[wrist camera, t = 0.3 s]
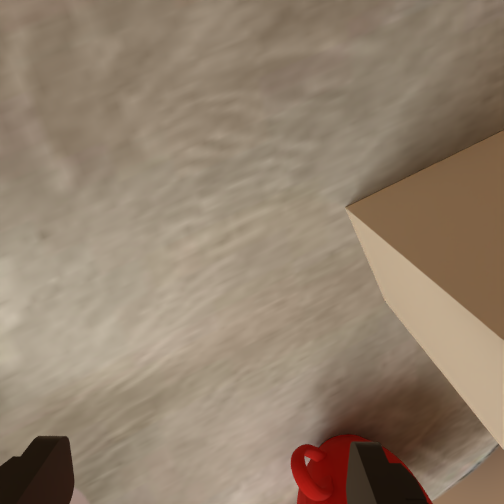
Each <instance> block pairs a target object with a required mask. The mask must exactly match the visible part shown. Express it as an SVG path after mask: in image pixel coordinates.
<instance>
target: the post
mask: <svg viewBox="0 0 504 504" xmlns="http://www.w3.org/2000/svg"><path fill="white" fill-rule="evenodd" d="M345 208H346V210H347V213H348V215H349V217H350V220H351V222H352V225H353V227H354V229H355V232H356V234H357V236H358V239H359V241H360V243H361V246H362V248H363V250H364V253H365V255H366V257H367V260H368V262H369V265H370V267H371V269H372V272H373V274H374V276H375V279H376V281H377V283H378V286H379V288H380V290H381V293H382V295H383V297H384V300H385V302H386V303H387V304H388V306H389V307H390V308H391V309H392V311H393V312H394V313H395V314H396V316H397V317H398V318H399V319H400V321H401V322H402V323H403V324H404V326H405V327H406V328H407V329H408V331H409V332H410V333H411V334H412V336H413V337H414V338H415V339H416V341H417V342H418V343H419V344H420V346H421V347H422V348H423V349H424V351H425V352H426V353H427V354H428V356H429V357H430V358H431V359H432V361H433V362H434V363H435V364H436V366H437V367H438V368H439V369H440V371H441V372H442V373H443V374H444V376H445V377H446V378H447V379H448V381H449V382H450V383H451V384H452V386H453V387H454V388H455V390H456V391H457V392H458V393H459V395H460V396H461V397H462V398H463V400H464V401H465V402H466V403H467V405H468V406H469V407H470V408H471V410H472V411H473V412H474V413H475V415H476V416H477V417H478V418H479V420H480V421H481V422H482V423H483V425H484V426H485V427H486V428H487V430H488V431H489V432H490V433H491V435H492V436H493V437H494V438H495V440H496V441H497V442H498V443H499V445H500V446H501V447H502V448H503V450H504V130H503V131H501V132H499V133H497V134H495V135H493V136H491V137H489V138H487V139H485V140H483V141H481V142H478V143H476V144H474V145H472V146H470V147H468V148H466V149H464V150H462V151H460V152H458V153H456V154H454V155H452V156H450V157H448V158H446V159H444V160H442V161H440V162H437V163H435V164H433V165H431V166H429V167H427V168H425V169H423V170H421V171H419V172H417V173H415V174H413V175H411V176H409V177H407V178H405V179H403V180H401V181H399V182H396V183H394V184H392V185H390V186H388V187H386V188H384V189H382V190H380V191H378V192H376V193H374V194H372V195H370V196H368V197H366V198H364V199H362V200H360V201H358V202H356V203H353V204H351V205H349V206H347V207H345Z"/></svg>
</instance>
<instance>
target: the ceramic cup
mask: <svg viewBox="0 0 504 504" xmlns="http://www.w3.org/2000/svg"><path fill="white" fill-rule="evenodd" d="M353 441H357V442H372V441H370V440H367V439H365V438H363V437H361V436H357V435H351V434H346V435H339V436H336V437H333V438H331V439H329V440H327V441H325V442H324V443H323V444H322V445H321V446H320V447H319V448H317V447H315V446H313V445H309V444H305V445H302V446H300V447H298V448H297V449H296V450H295V451H294V452H293V454H292V457H291V469H292V473H293V476H294V479H295V481H296V483H297V485H298V487H299V491H298V498H297V504H347V496H346V480H347V471H348V461H349V452H350V445H351V442H353ZM382 448H383V450H384V452H385V455H386V457H387V459H388V461H389V463H401V464H402V465H403V466H404V467H405V468H406V469H407V470H408V471H409V472H410V473H411V474H412V472H411V471H410V470H409V469H408V467H407V466H406V465H405V464H404V463H403V462H402V461H401V460H400V459H399V458H397V457H396V456H395V455H394V454H393V453H391V452H390V451H389V450H387V449H386V448H384V447H383V446H382ZM304 456H306V457H309V458H311V460H310V461H309V463H308V465H307V466H306V464H305V459H304ZM412 475H413V474H412ZM413 476H414V475H413ZM414 477H415V476H414ZM417 481H418V480H417ZM418 483H419V482H418ZM419 485H420V483H419ZM420 487H421V489H422V491H423V493H424V495H425V497H426V499H427V503H429V504H433V503H432V502H431V500H430V498H429V497H428V495H427V494H426V492H425V490H424V489H423V487H422V486H421V485H420Z"/></svg>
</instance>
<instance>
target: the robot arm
mask: <svg viewBox="0 0 504 504" xmlns="http://www.w3.org/2000/svg"><path fill="white" fill-rule="evenodd" d="M73 490H74V473H73V465H72V457H71V450H70V442H69V439H68V437H66V436H38V437H36V438H35V439H34V440H33V441H32V442H31V444H30V445H29V446H28V448H27V449H26V450H25V451H24V453H23V454H22V455H21V457H15V456H13V457H12V458H11V459H9V460H8V461H7V462H5V463H4V464H3V465H1V466H0V504H69V503H70V501H71V498H72V494H73ZM346 496H347V504H429V503H427V499H426V497H425V495H424V493H423V491H422V489H421V487H420V485H419V483H418V481H417V479H416V478H415V477H414V476H413V475H412V474H411V473H410V472H409V471H408V470H407V469H406V468H405V467H404V466H403V465H402V464H401V463H389V461H388V459H387V457H386V455H385V452H384V450H383V448H382V446H381V444H380V443H379V442H357V441H353V442H351V445H350V452H349V461H348V471H347V480H346Z"/></svg>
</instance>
